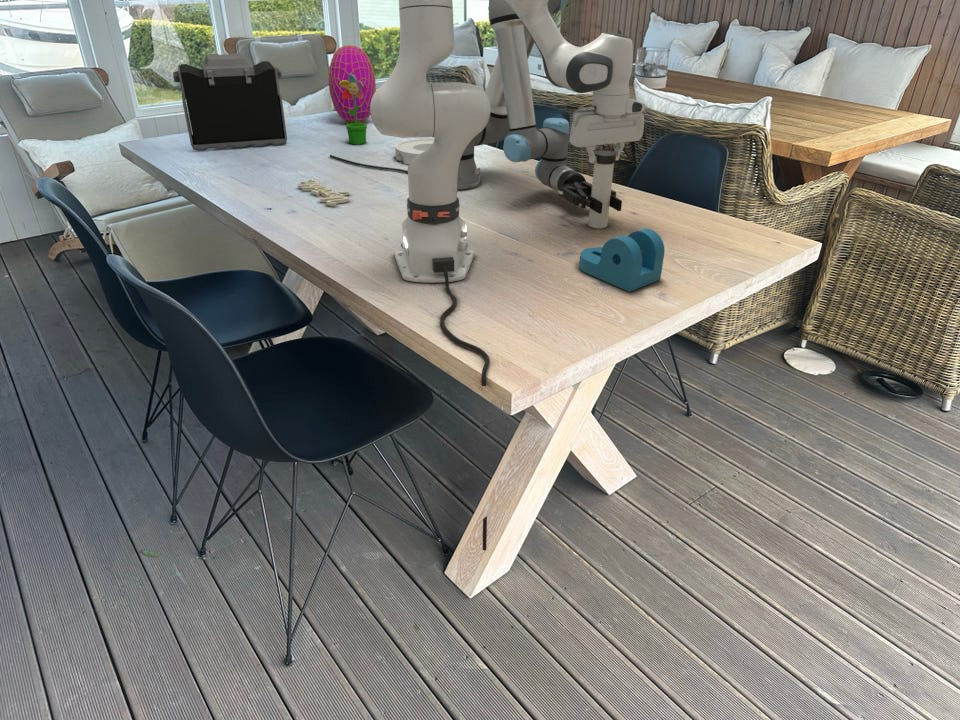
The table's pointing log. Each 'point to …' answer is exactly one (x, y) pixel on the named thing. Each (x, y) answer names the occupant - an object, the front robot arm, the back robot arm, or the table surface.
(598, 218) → the beige long cylinder
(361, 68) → the decorative egg
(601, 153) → the lid
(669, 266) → the table surface
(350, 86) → the potted flower
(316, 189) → the decorative sign
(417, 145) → the ashtray
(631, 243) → the camera mount
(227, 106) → the electronic device
